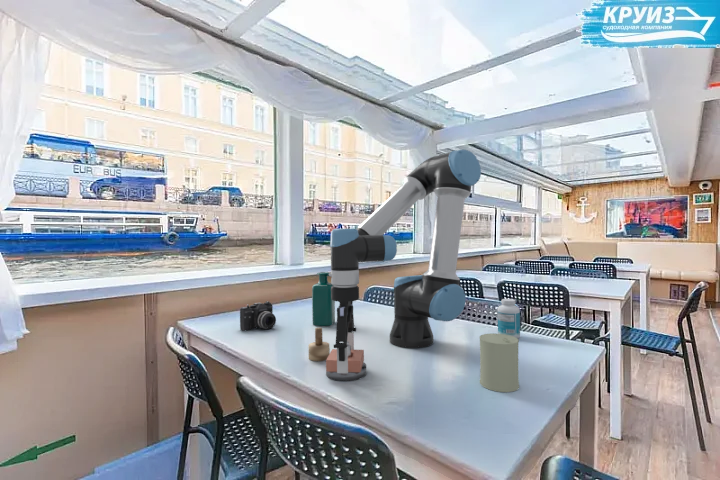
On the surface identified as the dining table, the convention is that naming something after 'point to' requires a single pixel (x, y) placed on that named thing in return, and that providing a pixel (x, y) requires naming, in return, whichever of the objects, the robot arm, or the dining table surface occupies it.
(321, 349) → the stand
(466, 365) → the dining table surface
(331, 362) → the terracotta clay block
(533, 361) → the dining table surface
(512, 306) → the pill bottle
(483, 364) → the can
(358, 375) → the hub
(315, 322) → the green bottle
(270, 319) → the camera
